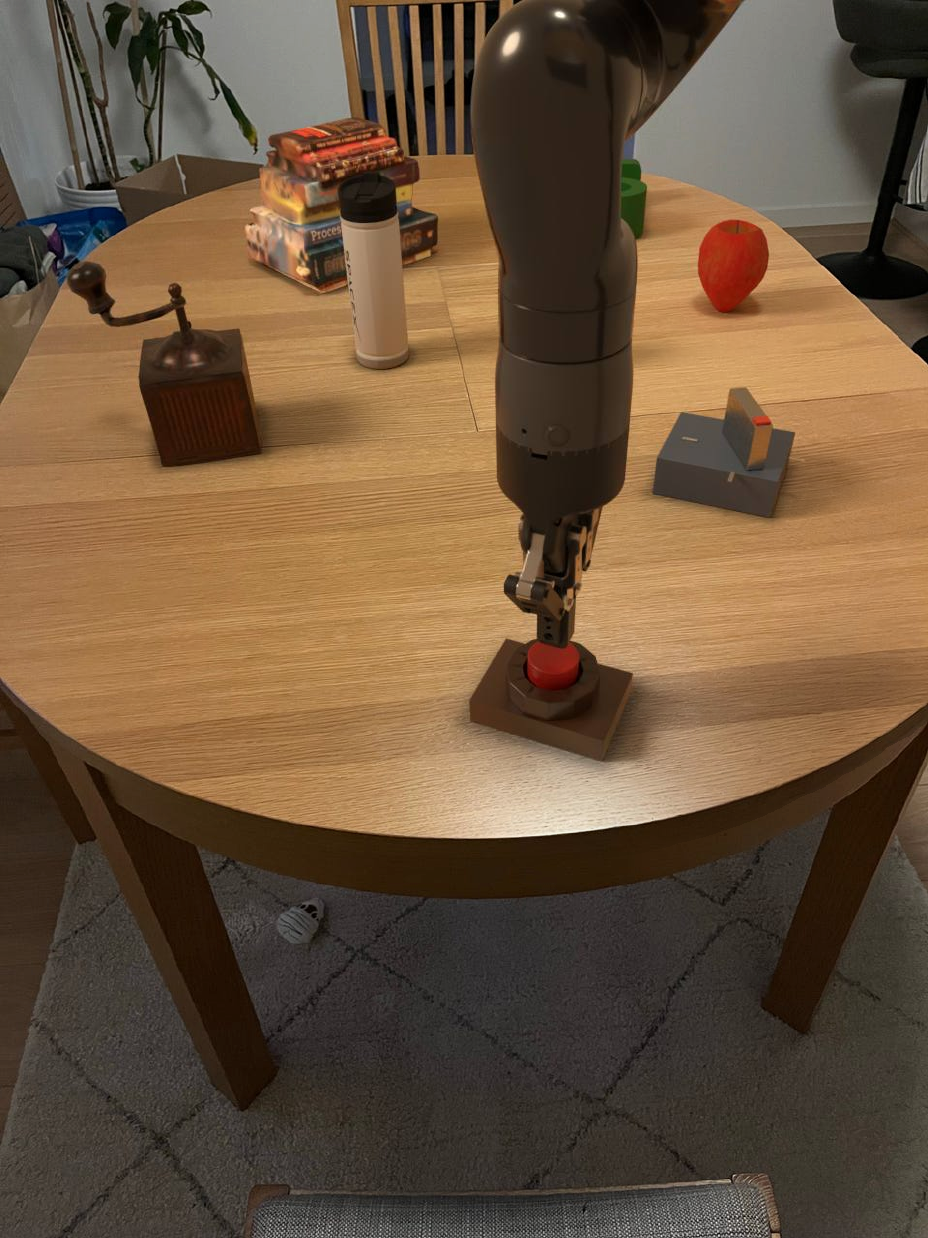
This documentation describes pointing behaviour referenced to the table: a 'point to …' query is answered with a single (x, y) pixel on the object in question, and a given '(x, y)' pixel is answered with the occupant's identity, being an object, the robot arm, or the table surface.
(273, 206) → the book
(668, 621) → the table surface
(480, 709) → the button block
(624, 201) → the slotted cylinder bracket
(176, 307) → the manual coffee grinder
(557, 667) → the red push button
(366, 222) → the travel mug
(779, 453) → the grey slotted base
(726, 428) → the red-tipped tan bar
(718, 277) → the apple
